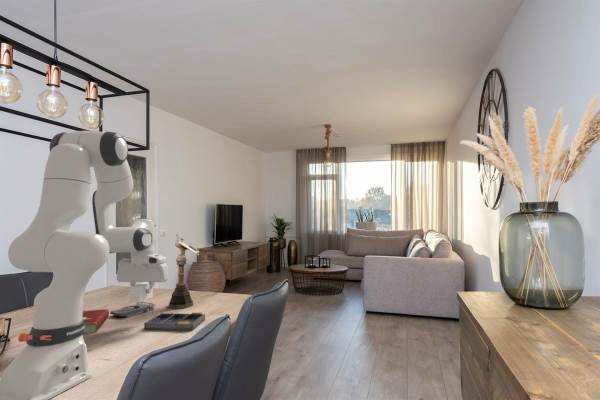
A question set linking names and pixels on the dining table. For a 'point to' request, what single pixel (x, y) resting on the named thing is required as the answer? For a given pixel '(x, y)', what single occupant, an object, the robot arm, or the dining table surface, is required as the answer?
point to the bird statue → (181, 278)
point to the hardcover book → (94, 319)
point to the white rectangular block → (140, 292)
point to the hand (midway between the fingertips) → (142, 293)
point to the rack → (175, 321)
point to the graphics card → (134, 309)
